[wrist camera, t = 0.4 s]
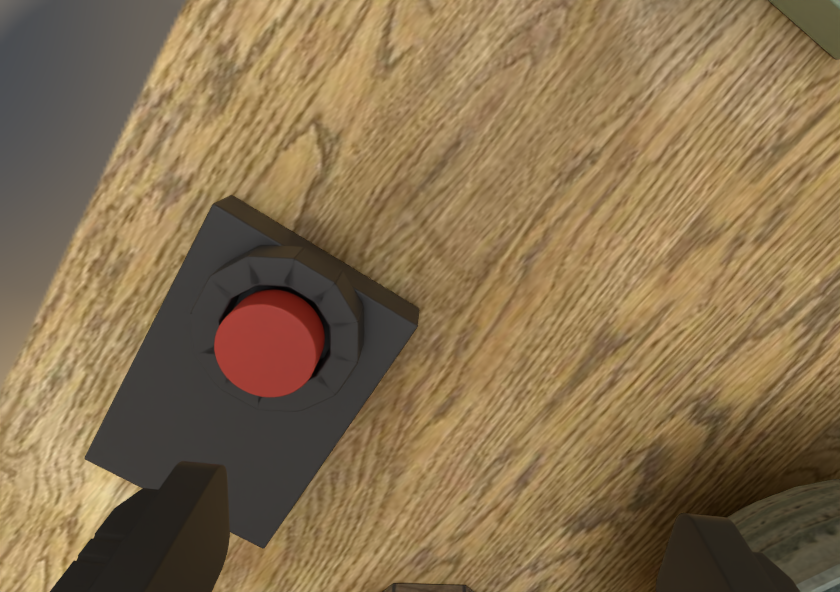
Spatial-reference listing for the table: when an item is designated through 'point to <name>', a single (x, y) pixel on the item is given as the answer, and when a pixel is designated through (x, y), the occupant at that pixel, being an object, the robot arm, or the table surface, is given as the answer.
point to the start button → (270, 343)
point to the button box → (228, 404)
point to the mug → (427, 588)
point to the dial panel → (815, 20)
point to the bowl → (798, 533)
